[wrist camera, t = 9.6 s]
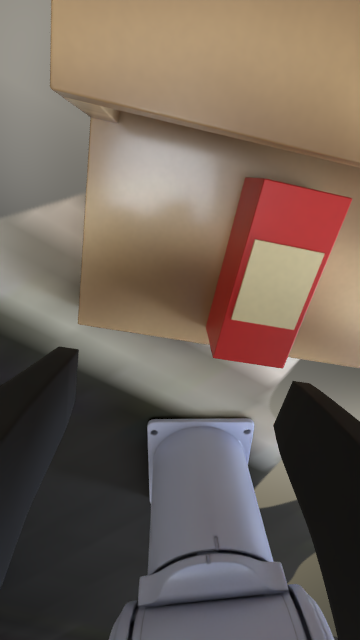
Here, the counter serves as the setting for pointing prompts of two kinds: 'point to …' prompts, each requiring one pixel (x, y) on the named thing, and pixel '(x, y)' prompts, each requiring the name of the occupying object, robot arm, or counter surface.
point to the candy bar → (271, 269)
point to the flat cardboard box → (208, 150)
